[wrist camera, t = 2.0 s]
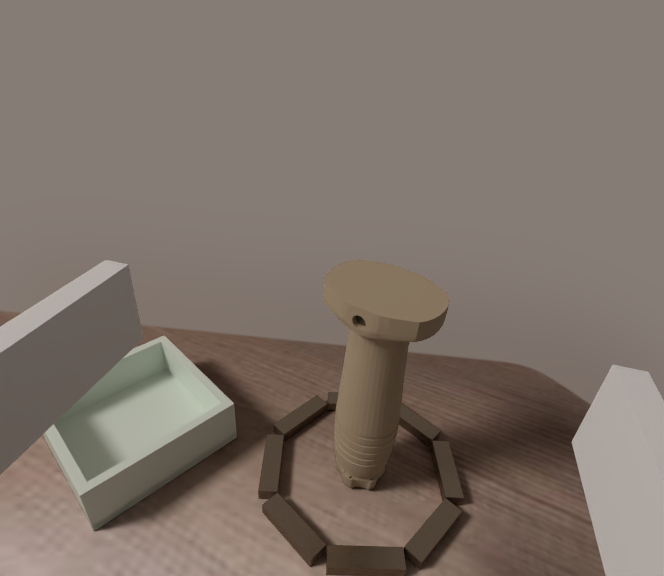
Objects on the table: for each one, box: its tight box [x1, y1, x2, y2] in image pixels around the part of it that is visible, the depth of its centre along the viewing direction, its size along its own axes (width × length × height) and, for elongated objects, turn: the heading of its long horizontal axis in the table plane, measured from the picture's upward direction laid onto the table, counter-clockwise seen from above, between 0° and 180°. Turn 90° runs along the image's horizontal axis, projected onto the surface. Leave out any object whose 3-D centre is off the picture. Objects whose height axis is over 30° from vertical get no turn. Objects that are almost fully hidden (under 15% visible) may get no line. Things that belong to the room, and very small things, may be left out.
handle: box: [324, 260, 450, 490], centre depth 26 cm, size 5×6×15 cm
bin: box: [43, 336, 237, 531], centre depth 31 cm, size 10×10×4 cm
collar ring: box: [258, 392, 464, 576], centre depth 30 cm, size 13×13×1 cm
